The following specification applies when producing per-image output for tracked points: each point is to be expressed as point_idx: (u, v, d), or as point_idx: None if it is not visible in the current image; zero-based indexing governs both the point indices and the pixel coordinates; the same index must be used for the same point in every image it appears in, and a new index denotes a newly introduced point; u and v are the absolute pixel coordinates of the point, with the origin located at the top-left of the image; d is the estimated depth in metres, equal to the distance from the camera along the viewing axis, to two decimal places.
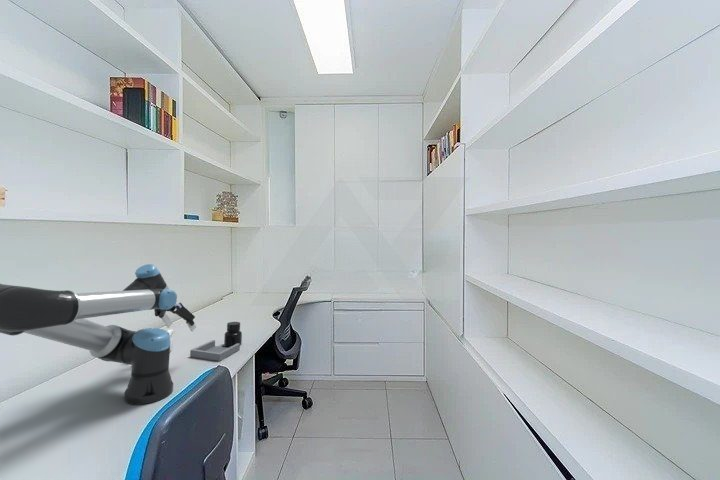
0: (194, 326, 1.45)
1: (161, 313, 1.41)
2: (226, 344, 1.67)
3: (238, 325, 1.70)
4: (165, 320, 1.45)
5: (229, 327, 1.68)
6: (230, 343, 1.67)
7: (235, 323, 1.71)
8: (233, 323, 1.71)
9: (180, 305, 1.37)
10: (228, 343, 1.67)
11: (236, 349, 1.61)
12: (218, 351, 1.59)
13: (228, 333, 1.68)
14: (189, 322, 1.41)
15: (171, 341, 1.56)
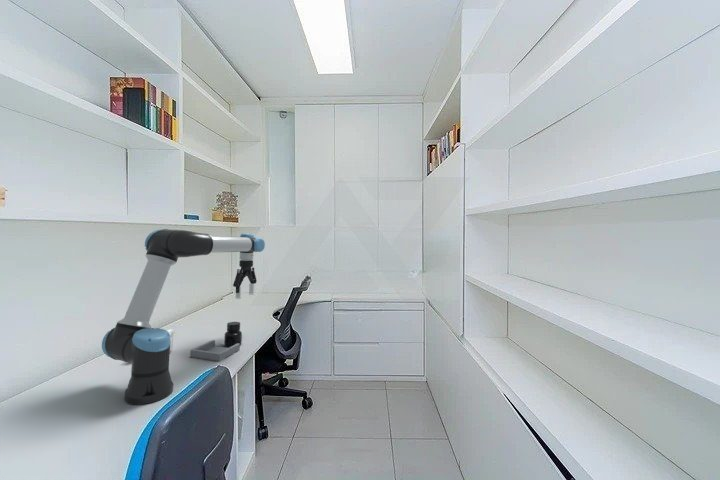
0: (238, 296, 1.74)
1: None
2: (226, 344, 1.67)
3: (238, 325, 1.70)
4: (250, 286, 1.87)
5: (229, 327, 1.68)
6: (230, 343, 1.67)
7: (235, 323, 1.71)
8: (233, 323, 1.71)
9: (239, 270, 1.74)
10: (228, 343, 1.67)
11: (236, 349, 1.61)
12: (218, 351, 1.59)
13: (228, 333, 1.68)
14: None
15: (171, 341, 1.56)
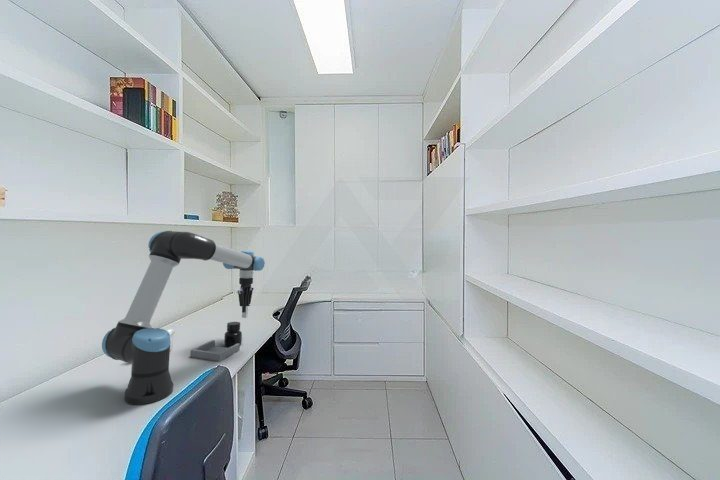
0: (244, 315, 1.80)
1: None
2: (226, 344, 1.67)
3: (238, 325, 1.70)
4: None
5: (229, 327, 1.68)
6: (230, 343, 1.67)
7: (235, 323, 1.71)
8: (233, 323, 1.71)
9: (240, 292, 1.75)
10: (228, 343, 1.67)
11: (236, 349, 1.61)
12: (218, 351, 1.59)
13: (228, 333, 1.68)
14: None
15: (171, 341, 1.56)
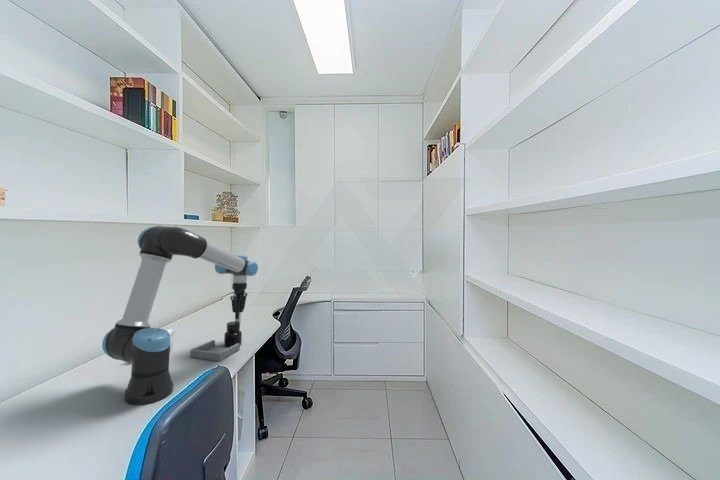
0: None
1: None
2: (226, 344, 1.67)
3: (238, 325, 1.70)
4: None
5: (229, 327, 1.68)
6: (230, 343, 1.67)
7: (235, 323, 1.71)
8: (233, 323, 1.70)
9: (232, 298, 1.69)
10: (228, 343, 1.67)
11: (236, 349, 1.61)
12: (218, 351, 1.59)
13: (228, 333, 1.68)
14: None
15: (171, 341, 1.56)
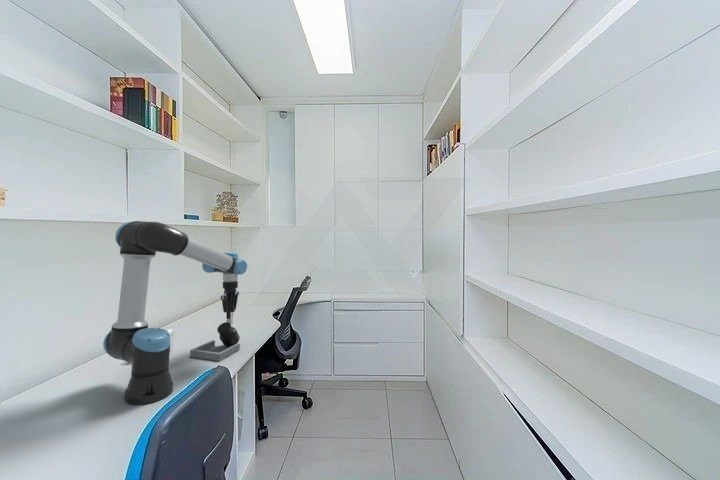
0: (229, 322, 1.66)
1: None
2: (225, 345, 1.66)
3: (229, 330, 1.62)
4: None
5: (221, 334, 1.61)
6: (228, 345, 1.65)
7: (225, 328, 1.62)
8: (223, 328, 1.62)
9: (223, 298, 1.61)
10: (226, 345, 1.66)
11: (236, 349, 1.61)
12: (218, 351, 1.59)
13: (222, 338, 1.63)
14: None
15: (171, 341, 1.56)
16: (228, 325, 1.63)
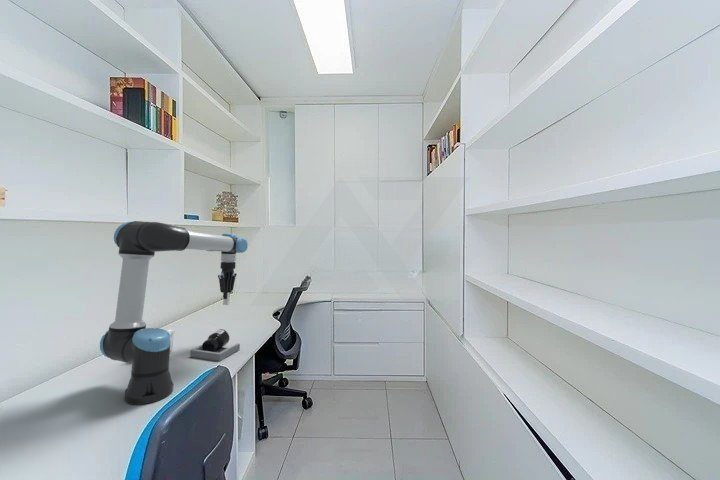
0: (226, 302, 1.68)
1: None
2: None
3: (214, 344, 1.55)
4: None
5: (213, 351, 1.57)
6: (225, 344, 1.64)
7: (210, 346, 1.55)
8: (208, 347, 1.55)
9: (220, 277, 1.63)
10: (224, 344, 1.65)
11: (236, 349, 1.61)
12: (218, 351, 1.59)
13: (216, 349, 1.60)
14: None
15: (171, 341, 1.56)
16: (209, 342, 1.55)
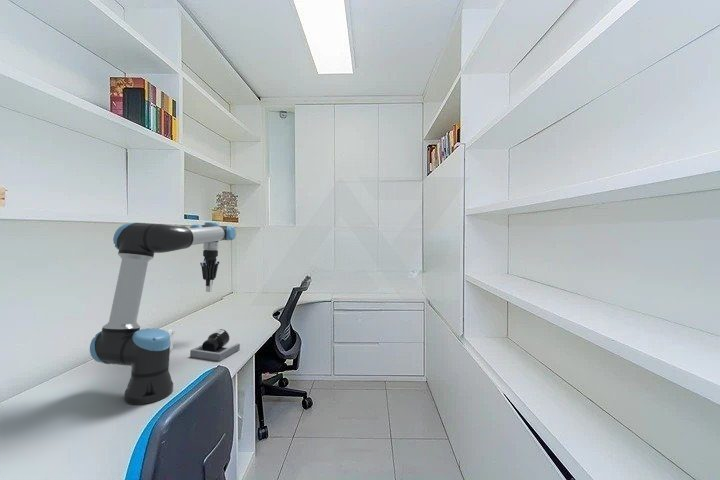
0: (208, 289, 1.73)
1: None
2: None
3: (214, 344, 1.55)
4: None
5: (213, 351, 1.57)
6: (225, 344, 1.64)
7: (210, 346, 1.55)
8: (208, 347, 1.55)
9: (202, 264, 1.68)
10: (224, 344, 1.65)
11: (236, 349, 1.61)
12: (218, 351, 1.59)
13: (216, 349, 1.60)
14: None
15: (171, 341, 1.56)
16: (209, 342, 1.55)
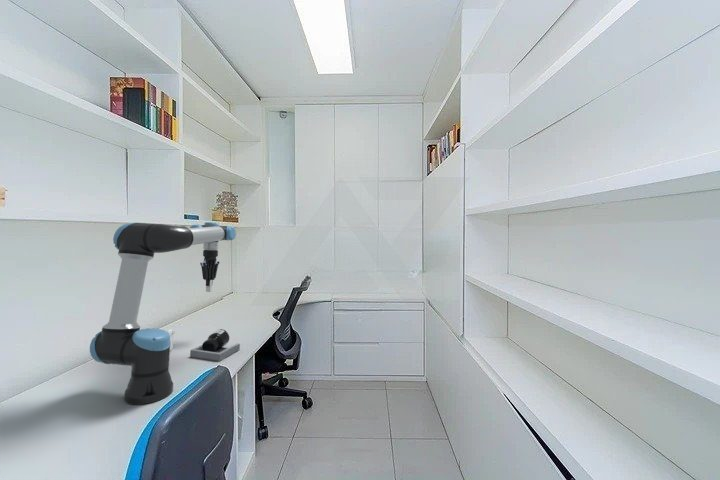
0: (208, 289, 1.73)
1: None
2: None
3: (214, 344, 1.55)
4: None
5: (213, 351, 1.57)
6: (225, 344, 1.64)
7: (209, 346, 1.55)
8: (208, 347, 1.55)
9: (202, 264, 1.68)
10: (224, 344, 1.65)
11: (236, 349, 1.61)
12: (218, 351, 1.59)
13: (216, 349, 1.60)
14: None
15: (171, 341, 1.56)
16: (209, 343, 1.55)
